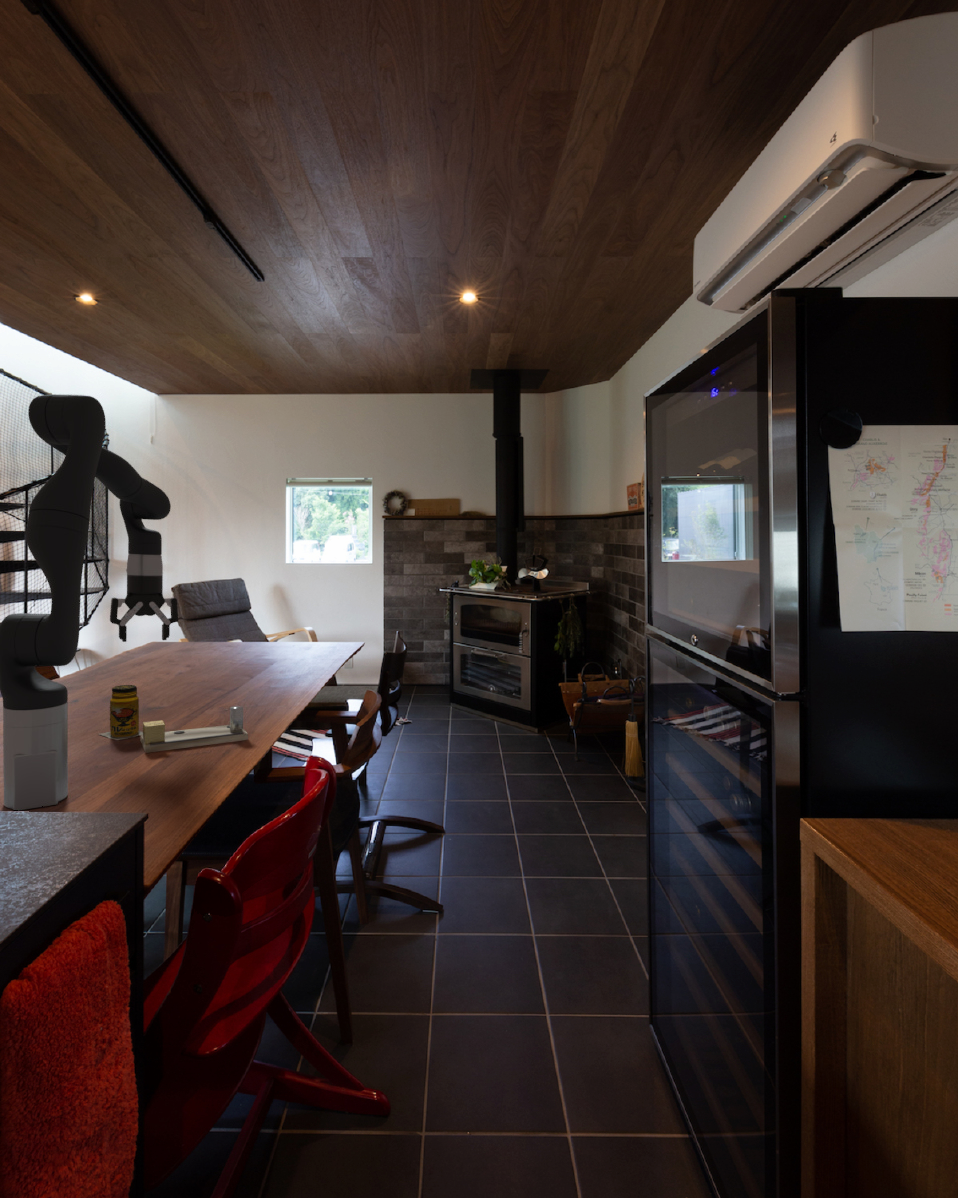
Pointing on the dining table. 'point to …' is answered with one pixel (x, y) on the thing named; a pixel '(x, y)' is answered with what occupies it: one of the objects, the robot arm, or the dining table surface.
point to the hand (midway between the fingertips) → (144, 640)
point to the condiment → (124, 713)
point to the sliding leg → (153, 732)
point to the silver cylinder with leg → (236, 719)
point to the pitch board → (195, 738)
